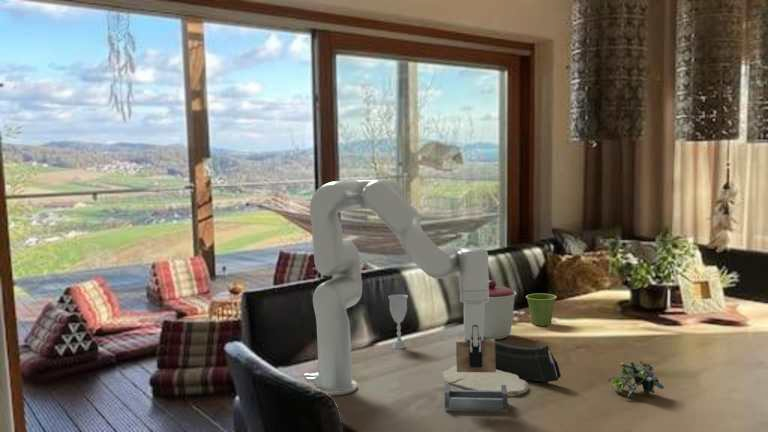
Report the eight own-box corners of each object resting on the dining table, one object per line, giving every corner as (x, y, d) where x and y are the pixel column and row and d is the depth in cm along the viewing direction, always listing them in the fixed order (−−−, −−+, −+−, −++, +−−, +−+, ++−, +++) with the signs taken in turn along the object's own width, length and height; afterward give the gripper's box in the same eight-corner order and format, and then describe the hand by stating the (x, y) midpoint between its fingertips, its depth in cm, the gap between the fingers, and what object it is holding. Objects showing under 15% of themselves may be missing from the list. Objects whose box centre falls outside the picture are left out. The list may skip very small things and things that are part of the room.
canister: (527, 337, 241) (526, 280, 239) (491, 345, 231) (490, 286, 229) (492, 328, 256) (492, 274, 254) (457, 335, 246) (456, 279, 244)
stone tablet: (467, 366, 209) (467, 359, 209) (540, 390, 185) (540, 382, 185) (427, 377, 199) (427, 369, 199) (499, 404, 175) (499, 395, 175)
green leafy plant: (646, 412, 180) (673, 382, 175) (624, 415, 174) (652, 384, 169) (618, 380, 188) (644, 351, 183) (596, 382, 181) (622, 351, 176)
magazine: (463, 337, 209) (541, 324, 187) (470, 335, 211) (547, 322, 189) (477, 391, 206) (557, 384, 185) (483, 389, 208) (563, 382, 187)
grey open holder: (445, 410, 170) (444, 392, 170) (445, 401, 177) (445, 383, 177) (507, 412, 168) (507, 393, 168) (506, 402, 175) (505, 384, 175)
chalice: (398, 350, 228) (396, 299, 226) (385, 346, 233) (383, 296, 231) (413, 346, 232) (412, 296, 231) (400, 342, 237) (399, 293, 236)
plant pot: (524, 320, 266) (524, 293, 265) (554, 321, 265) (554, 293, 264) (527, 328, 254) (526, 299, 254) (558, 328, 253) (558, 299, 252)
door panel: (456, 372, 171) (456, 342, 171) (457, 368, 174) (456, 338, 174) (495, 372, 170) (495, 342, 169) (495, 368, 173) (494, 338, 172)
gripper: (460, 289, 179) (461, 355, 181) (459, 301, 163) (461, 374, 164) (487, 289, 178) (489, 356, 180) (490, 301, 162) (491, 374, 163)
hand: (475, 364), depth 172 cm, fingers closed on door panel, 3 cm apart
